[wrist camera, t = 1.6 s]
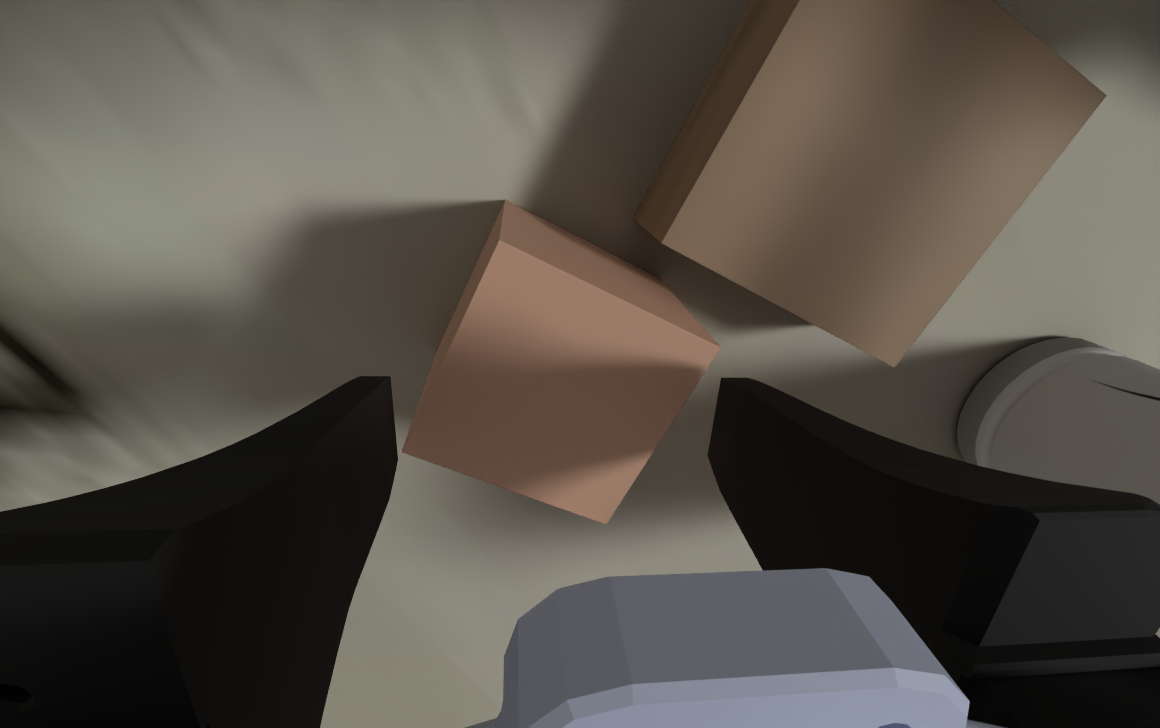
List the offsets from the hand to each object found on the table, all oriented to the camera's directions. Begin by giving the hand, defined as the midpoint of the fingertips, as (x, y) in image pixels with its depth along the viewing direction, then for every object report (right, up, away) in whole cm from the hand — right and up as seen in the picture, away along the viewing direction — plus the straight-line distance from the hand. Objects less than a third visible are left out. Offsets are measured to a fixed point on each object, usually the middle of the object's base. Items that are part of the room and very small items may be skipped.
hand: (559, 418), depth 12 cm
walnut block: (+7, +8, +5) cm, 12 cm away
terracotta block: (-1, +3, +6) cm, 7 cm away
